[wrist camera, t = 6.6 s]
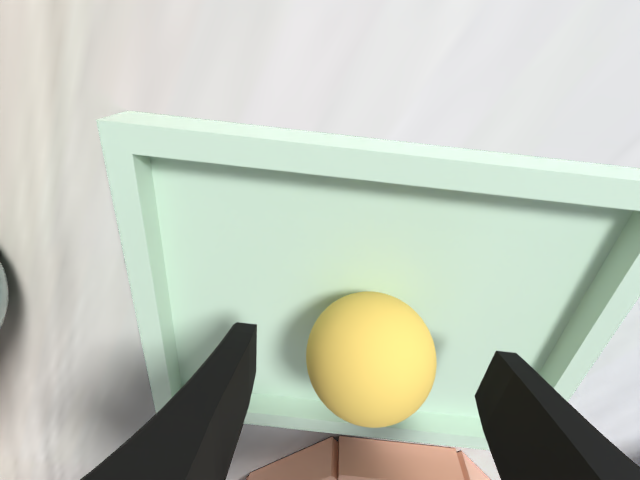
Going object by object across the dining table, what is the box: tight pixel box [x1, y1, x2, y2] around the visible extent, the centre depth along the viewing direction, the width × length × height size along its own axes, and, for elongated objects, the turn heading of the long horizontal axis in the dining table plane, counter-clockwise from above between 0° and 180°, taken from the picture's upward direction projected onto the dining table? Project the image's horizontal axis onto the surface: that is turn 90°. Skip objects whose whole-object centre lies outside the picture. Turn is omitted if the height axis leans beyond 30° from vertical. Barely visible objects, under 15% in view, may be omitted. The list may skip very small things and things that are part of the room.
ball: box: [306, 291, 437, 428], centre depth 11 cm, size 4×4×4 cm
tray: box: [96, 111, 640, 450], centre depth 13 cm, size 16×12×2 cm
